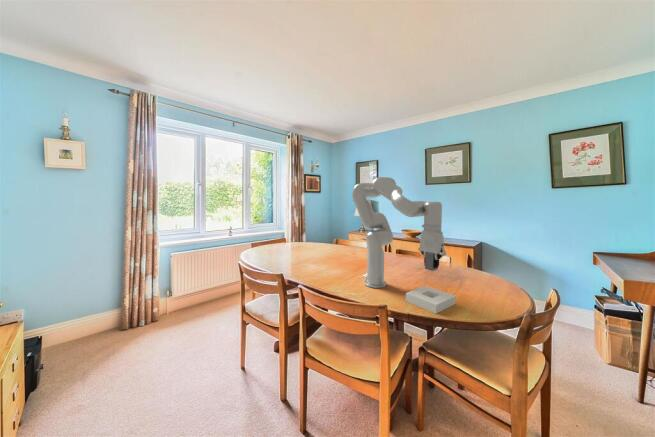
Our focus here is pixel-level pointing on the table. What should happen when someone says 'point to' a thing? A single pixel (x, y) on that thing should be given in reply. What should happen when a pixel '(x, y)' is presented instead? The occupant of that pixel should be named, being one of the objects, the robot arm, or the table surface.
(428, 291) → the socket housing
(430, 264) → the plug
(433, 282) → the table surface
